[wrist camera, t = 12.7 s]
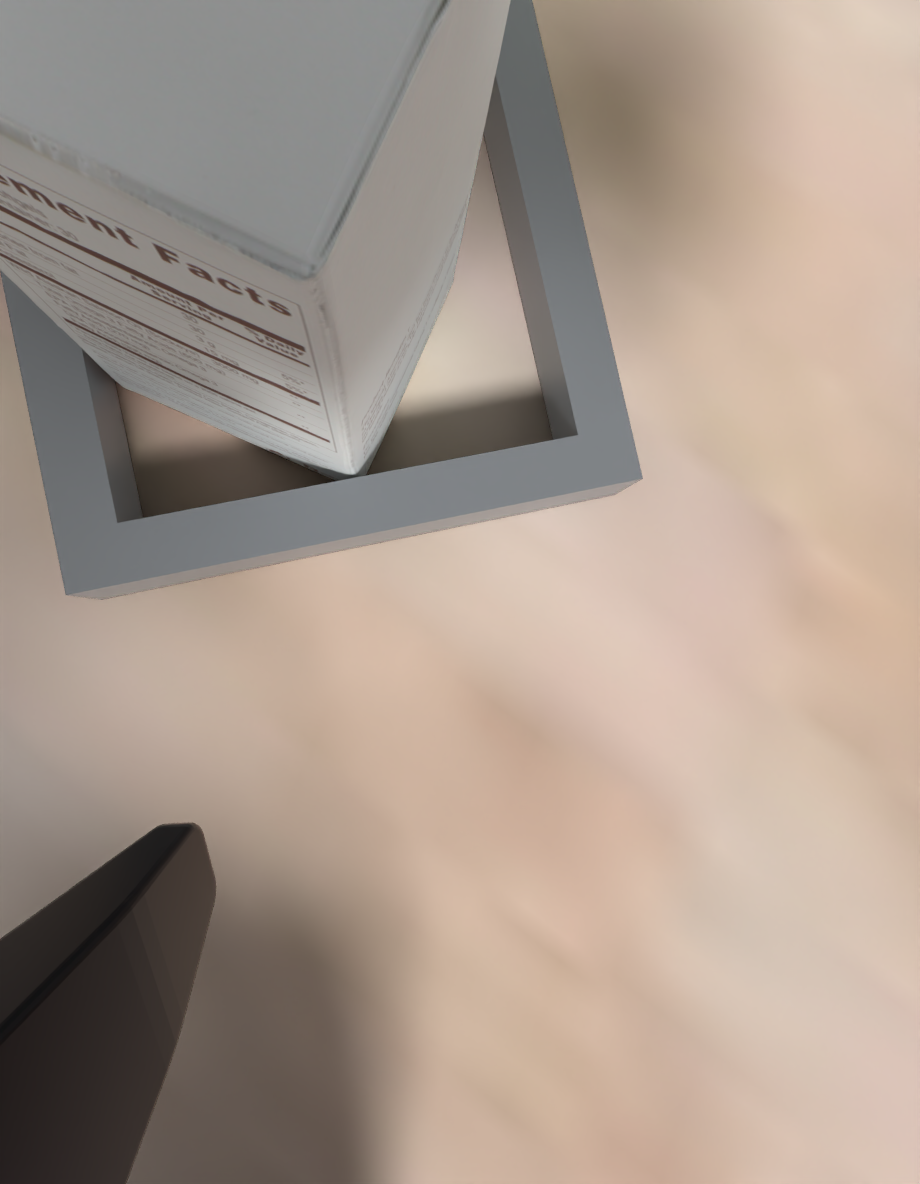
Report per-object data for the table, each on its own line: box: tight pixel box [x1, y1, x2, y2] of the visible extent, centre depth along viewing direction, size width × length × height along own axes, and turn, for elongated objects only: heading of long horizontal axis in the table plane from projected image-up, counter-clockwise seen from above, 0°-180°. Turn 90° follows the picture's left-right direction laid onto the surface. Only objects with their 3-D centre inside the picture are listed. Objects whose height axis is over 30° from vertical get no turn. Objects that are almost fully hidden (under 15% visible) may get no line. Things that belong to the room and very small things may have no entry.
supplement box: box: [0, 0, 511, 481], centre depth 14 cm, size 7×7×13 cm
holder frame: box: [0, 0, 643, 600], centre depth 19 cm, size 15×15×2 cm
